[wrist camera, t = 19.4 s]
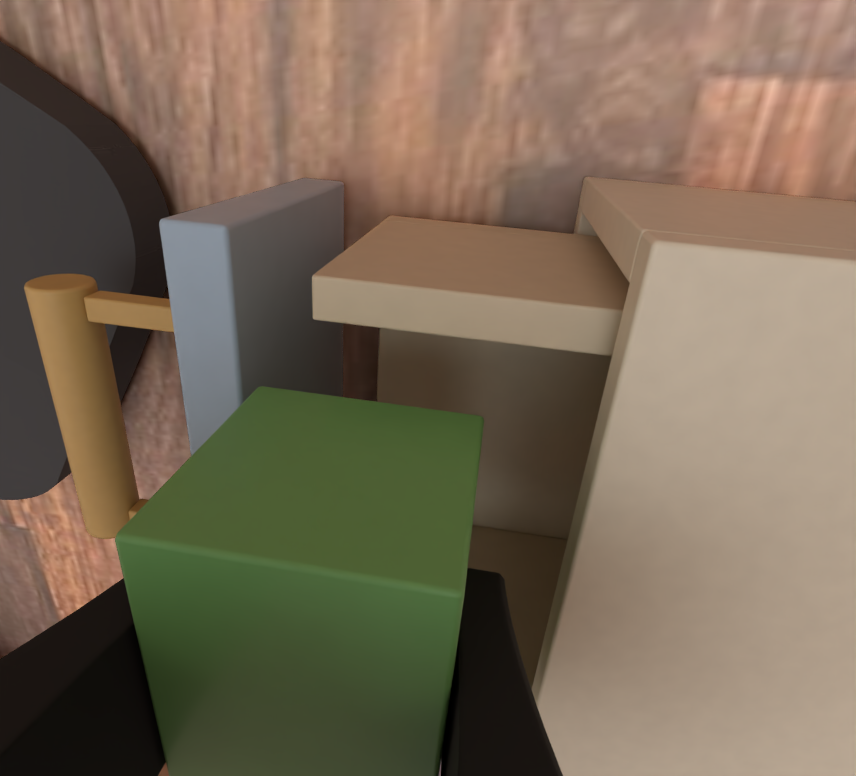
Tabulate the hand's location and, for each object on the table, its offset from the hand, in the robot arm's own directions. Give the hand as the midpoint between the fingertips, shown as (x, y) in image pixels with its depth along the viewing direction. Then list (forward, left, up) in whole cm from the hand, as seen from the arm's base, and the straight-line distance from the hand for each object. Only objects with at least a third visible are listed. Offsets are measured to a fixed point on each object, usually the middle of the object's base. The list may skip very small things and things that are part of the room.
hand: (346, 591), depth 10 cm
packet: (0, 0, -1) cm, 1 cm away
